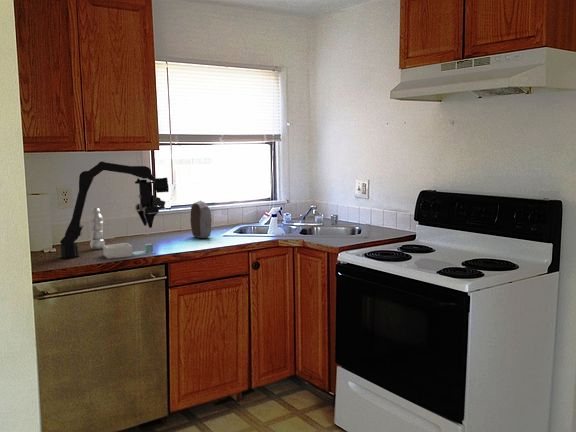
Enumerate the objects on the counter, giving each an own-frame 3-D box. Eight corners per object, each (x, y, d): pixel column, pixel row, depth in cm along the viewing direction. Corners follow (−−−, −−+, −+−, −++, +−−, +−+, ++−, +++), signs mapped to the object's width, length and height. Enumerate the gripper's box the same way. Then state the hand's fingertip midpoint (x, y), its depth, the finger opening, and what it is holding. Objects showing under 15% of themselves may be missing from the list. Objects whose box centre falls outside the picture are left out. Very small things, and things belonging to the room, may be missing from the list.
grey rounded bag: (189, 236, 303) (188, 200, 300) (203, 235, 308) (201, 199, 305) (202, 240, 291) (201, 202, 288) (216, 238, 296) (215, 201, 293)
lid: (134, 256, 252) (134, 247, 251) (131, 253, 258) (130, 244, 258) (154, 254, 256) (154, 245, 256) (150, 251, 263) (150, 242, 262)
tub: (107, 258, 245) (107, 248, 245) (103, 255, 253) (103, 245, 253) (132, 255, 251) (132, 245, 250) (128, 252, 258) (127, 243, 258)
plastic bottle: (88, 249, 269) (85, 208, 267) (101, 247, 274) (98, 207, 271) (94, 251, 265) (91, 209, 262) (107, 249, 269) (105, 208, 267)
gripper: (169, 193, 251) (170, 227, 253) (157, 190, 267) (159, 222, 269) (144, 194, 245) (146, 229, 247) (134, 192, 262) (136, 224, 264)
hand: (147, 226), depth 257 cm, fingers open, 9 cm apart
